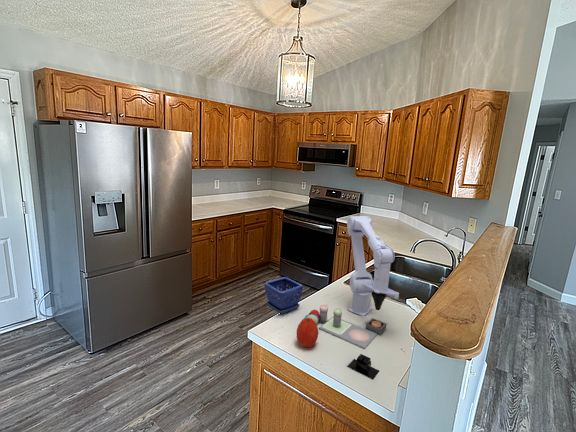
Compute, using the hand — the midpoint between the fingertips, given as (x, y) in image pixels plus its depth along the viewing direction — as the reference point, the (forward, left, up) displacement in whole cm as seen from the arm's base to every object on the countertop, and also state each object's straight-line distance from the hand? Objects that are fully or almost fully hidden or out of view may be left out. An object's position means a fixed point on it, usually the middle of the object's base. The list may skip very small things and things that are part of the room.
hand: (377, 308), depth 125 cm
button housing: (0, 0, -9) cm, 9 cm away
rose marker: (+10, -20, -9) cm, 24 cm away
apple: (+27, -16, -10) cm, 33 cm away
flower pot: (+12, -40, -10) cm, 43 cm away
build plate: (+26, +6, -10) cm, 28 cm away
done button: (0, 0, -8) cm, 8 cm away
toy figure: (+16, -22, -10) cm, 29 cm away
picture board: (+10, -8, -9) cm, 15 cm away
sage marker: (+10, -13, -9) cm, 18 cm away
